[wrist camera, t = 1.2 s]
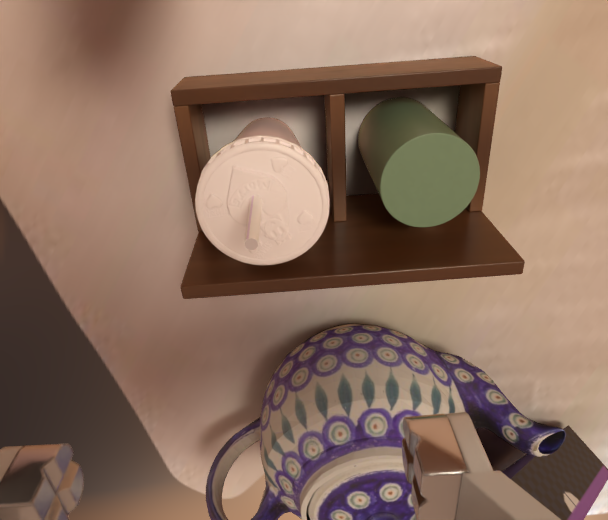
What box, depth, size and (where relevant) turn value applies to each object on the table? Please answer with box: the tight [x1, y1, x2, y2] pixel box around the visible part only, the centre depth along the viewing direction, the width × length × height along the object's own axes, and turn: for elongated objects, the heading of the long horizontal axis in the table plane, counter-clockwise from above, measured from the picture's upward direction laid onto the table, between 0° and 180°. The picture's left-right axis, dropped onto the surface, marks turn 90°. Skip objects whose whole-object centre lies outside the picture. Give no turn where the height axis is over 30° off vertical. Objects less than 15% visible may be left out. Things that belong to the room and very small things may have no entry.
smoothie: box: [195, 118, 330, 265], centre depth 25 cm, size 6×6×14 cm
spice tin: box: [358, 97, 480, 227], centre depth 27 cm, size 5×5×8 cm
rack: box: [171, 56, 525, 299], centre depth 26 cm, size 9×17×10 cm, turn 94°
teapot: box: [206, 324, 566, 520], centre depth 34 cm, size 25×15×15 cm, turn 109°
